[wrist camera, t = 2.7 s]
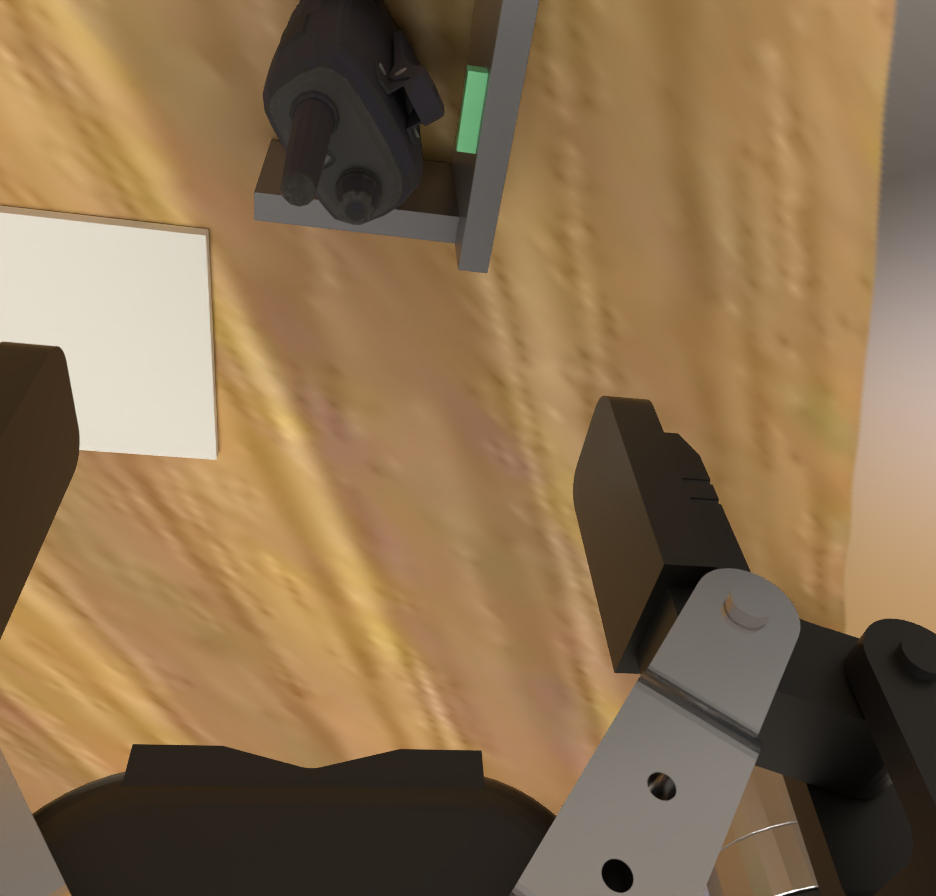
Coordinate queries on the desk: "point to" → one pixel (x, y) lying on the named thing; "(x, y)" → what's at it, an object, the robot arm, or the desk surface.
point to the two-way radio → (349, 109)
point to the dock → (474, 158)
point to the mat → (118, 324)
